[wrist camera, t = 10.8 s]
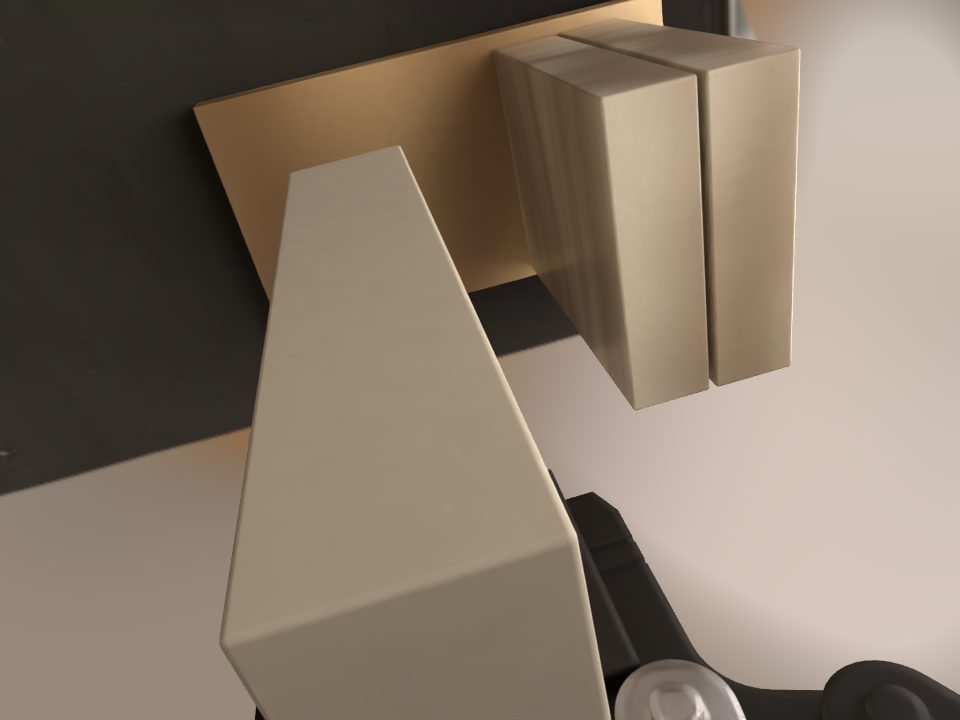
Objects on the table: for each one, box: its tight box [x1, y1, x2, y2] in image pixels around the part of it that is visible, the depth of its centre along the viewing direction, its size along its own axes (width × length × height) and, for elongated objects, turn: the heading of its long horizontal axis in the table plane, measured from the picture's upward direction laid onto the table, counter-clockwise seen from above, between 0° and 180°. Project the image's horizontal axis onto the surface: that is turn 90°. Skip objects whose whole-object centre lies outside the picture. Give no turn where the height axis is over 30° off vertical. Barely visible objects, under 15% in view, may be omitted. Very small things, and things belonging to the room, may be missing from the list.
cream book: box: [220, 145, 611, 720], centre depth 12 cm, size 2×9×12 cm, turn 12°
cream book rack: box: [193, 0, 800, 410], centre depth 24 cm, size 18×10×13 cm, turn 102°
